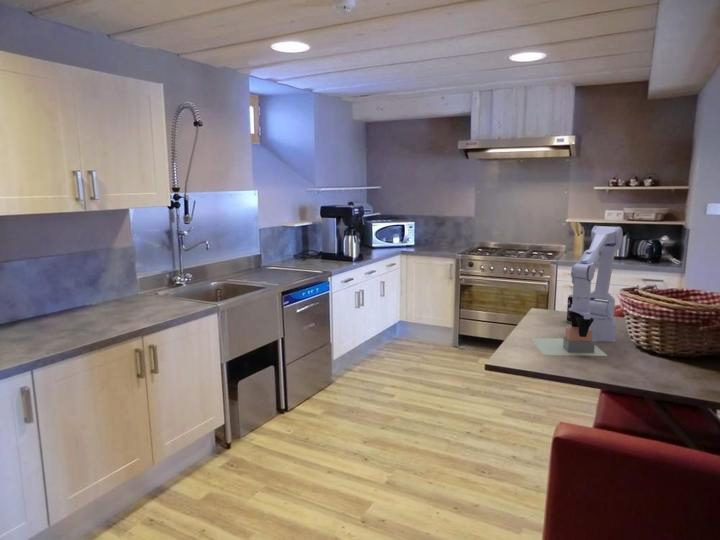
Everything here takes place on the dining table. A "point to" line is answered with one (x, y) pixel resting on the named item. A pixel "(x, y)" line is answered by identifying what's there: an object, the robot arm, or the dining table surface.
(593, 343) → the grey base brick
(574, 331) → the terracotta brick
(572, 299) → the beverage can
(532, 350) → the dining table surface
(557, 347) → the baseplate
